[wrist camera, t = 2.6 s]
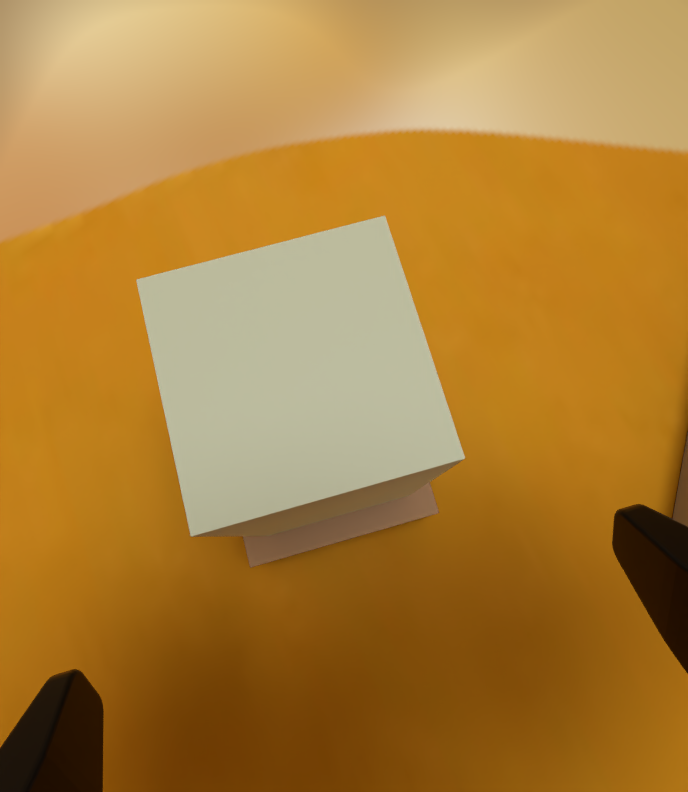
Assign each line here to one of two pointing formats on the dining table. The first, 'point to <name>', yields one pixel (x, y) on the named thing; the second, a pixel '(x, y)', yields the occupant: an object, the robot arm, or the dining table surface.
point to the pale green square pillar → (296, 382)
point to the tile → (682, 492)
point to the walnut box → (341, 527)
